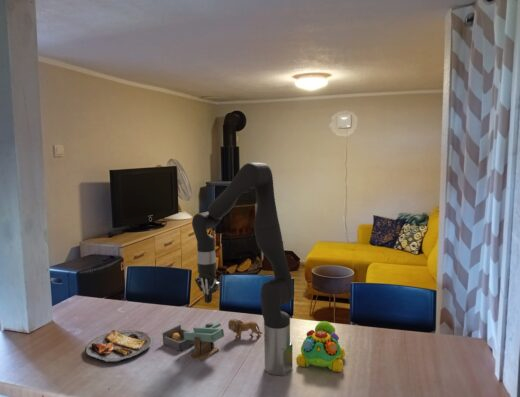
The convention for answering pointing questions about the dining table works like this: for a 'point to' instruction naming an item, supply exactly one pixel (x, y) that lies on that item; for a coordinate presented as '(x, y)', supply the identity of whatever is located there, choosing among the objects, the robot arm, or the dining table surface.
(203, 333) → the lever
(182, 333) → the tray
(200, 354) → the fulcrum
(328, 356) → the turtle toy
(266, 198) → the robot arm
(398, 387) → the dining table surface
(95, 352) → the food plate
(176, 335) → the ball
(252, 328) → the lion figurine
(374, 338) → the dining table surface
